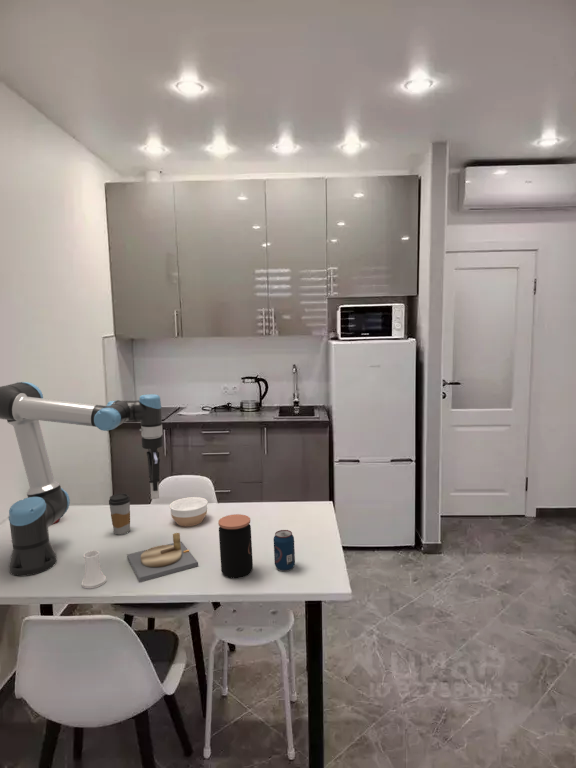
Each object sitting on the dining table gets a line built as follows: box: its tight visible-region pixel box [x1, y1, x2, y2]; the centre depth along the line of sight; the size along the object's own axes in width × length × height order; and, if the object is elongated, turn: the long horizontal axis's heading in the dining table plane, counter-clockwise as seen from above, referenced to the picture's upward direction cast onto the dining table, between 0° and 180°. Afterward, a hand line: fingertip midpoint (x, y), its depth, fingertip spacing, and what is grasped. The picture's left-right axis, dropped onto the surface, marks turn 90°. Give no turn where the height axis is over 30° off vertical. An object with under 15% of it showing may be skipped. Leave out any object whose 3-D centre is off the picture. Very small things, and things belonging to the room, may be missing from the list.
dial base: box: [126, 540, 199, 583], centre depth 181 cm, size 20×20×2 cm
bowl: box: [169, 496, 209, 527], centre depth 217 cm, size 16×16×8 cm
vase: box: [81, 550, 107, 590], centre depth 168 cm, size 8×8×10 cm
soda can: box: [273, 529, 296, 572], centre depth 173 cm, size 7×7×12 cm
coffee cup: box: [108, 493, 131, 535], centre depth 208 cm, size 8×8×15 cm
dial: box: [141, 532, 182, 567], centre depth 180 cm, size 14×14×7 cm
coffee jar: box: [217, 513, 254, 580], centre depth 170 cm, size 11×11×18 cm
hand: (155, 498), depth 191 cm, fingers closed
